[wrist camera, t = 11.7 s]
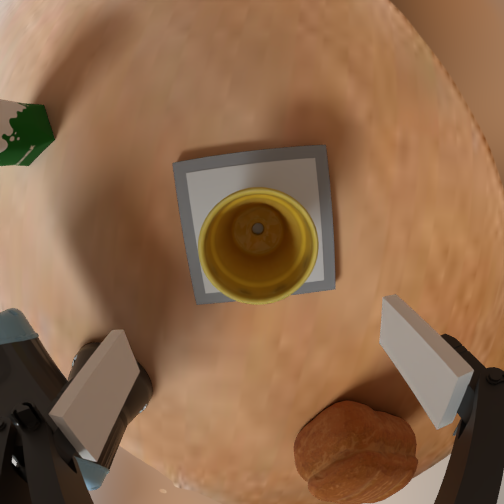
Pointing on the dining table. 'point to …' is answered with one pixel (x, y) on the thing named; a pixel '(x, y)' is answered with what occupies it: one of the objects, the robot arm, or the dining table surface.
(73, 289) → the dining table surface
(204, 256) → the plant pot
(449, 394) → the robot arm
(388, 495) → the bread
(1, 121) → the milk carton
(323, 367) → the dining table surface
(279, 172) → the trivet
